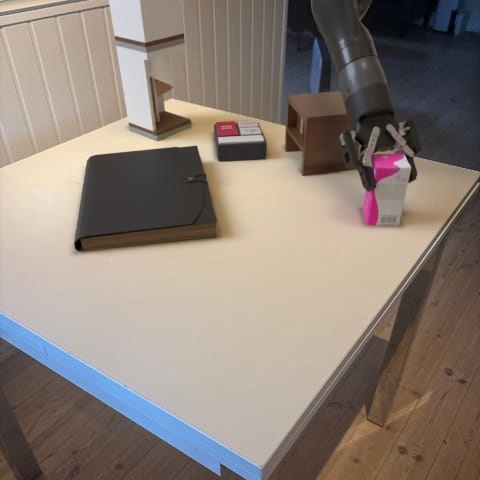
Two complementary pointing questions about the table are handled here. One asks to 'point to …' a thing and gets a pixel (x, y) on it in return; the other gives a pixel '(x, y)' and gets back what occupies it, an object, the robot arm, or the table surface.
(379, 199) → the supplement box
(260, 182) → the table surface
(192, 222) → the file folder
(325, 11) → the robot arm
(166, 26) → the white tower
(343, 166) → the shelf
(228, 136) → the dark grey flat box
